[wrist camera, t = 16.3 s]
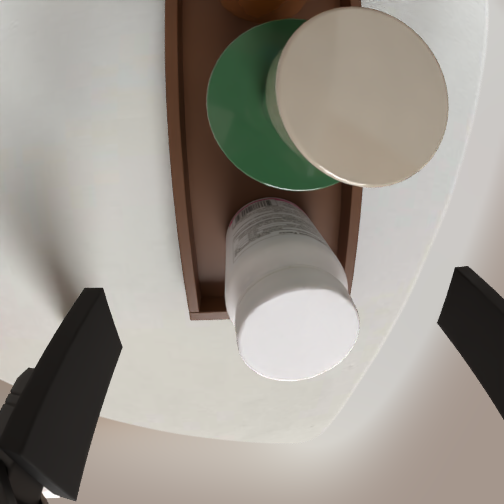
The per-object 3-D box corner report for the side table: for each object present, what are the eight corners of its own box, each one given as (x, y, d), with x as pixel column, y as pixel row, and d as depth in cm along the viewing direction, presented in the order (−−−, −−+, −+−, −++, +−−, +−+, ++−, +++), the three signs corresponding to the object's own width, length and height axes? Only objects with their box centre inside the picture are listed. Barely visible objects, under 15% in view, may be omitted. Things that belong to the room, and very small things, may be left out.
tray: (175, -59, 10) (169, -76, 8) (339, -56, 10) (350, -70, 8) (193, 301, 19) (190, 320, 17) (338, 292, 19) (348, 310, 18)
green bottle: (217, 65, 13) (178, -66, 2) (311, 66, 13) (487, -8, 2) (221, 154, 15) (192, 276, 4) (312, 153, 15) (477, 257, 4)
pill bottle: (298, 282, 18) (337, 392, 11) (218, 268, 18) (211, 382, 10) (323, 206, 16) (394, 288, 9) (236, 186, 16) (241, 260, 8)
